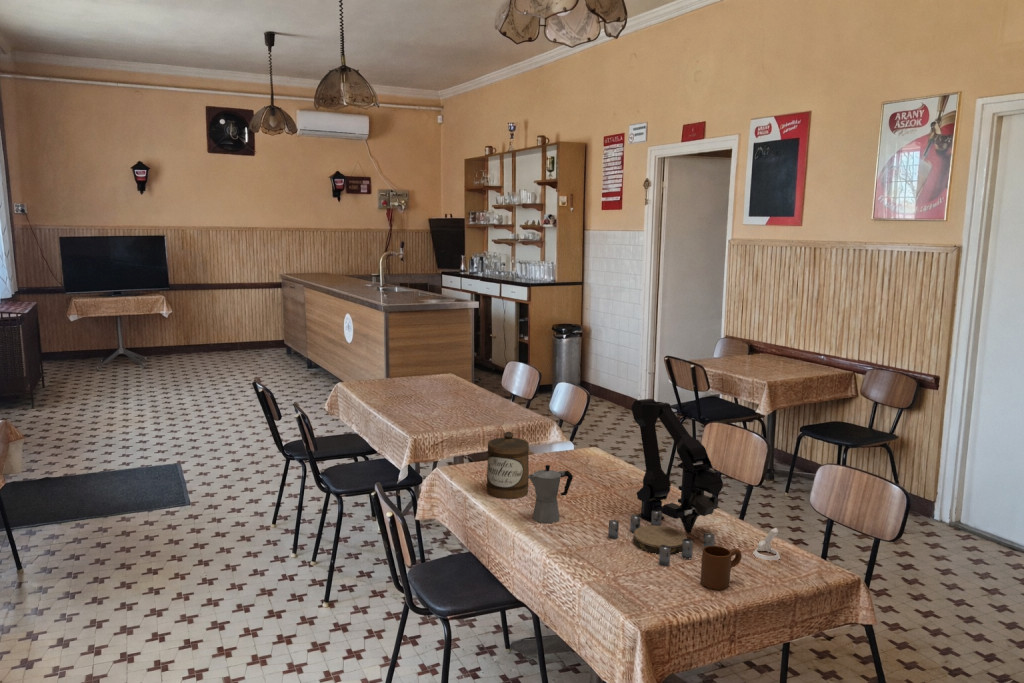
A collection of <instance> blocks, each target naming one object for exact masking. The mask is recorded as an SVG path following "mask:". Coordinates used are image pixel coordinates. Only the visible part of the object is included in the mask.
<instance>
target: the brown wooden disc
mask: <svg viewBox="0 0 1024 683" xmlns="http://www.w3.org/2000/svg"><path fill="white" fill-rule="evenodd" d="M683 539H688V537H687V535H686V534H685V533H684V532H683V531H681V530H679V529H677V528H673V527H669V526H663V525H661V526H654V525H652V526H651V525H645V526H640V527H639V528H638V529H636V530H635V531H634V533H633V542H632V543H633V545H634V544H635V545H636V546H635V545H634V546H635V547H636V548H637V547H638V548H637V549H639V550H641V549H642V550H641V551H642V552H645V551H647V552H646V553H649V552H650V553H649V554H652V553H654V555H658V554H659V551H660V546H661V545H667V546H670V547H671V549H670V554H674V555H677V554H676V553H679V552H682V540H683ZM655 553H656V554H655ZM679 554H680V553H679Z"/></svg>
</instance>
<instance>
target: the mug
mask: <svg viewBox="0 0 1024 683" xmlns="http://www.w3.org/2000/svg"><path fill="white" fill-rule="evenodd" d="M733 556H734V558H733V559H732V557H733ZM742 557H743V556H742V551H741V550H740V549H738V548H731V549H728V548H727V547H723V546H720V545H714V546H706V547H704V548H703V547H702V553H701V562H700V564H701V566H700V583H701V584H702V586H704V587H705V586H706V588H707V587H708V588H707V589H710V590H715V591H722V590H723V591H724V590H725V589H728V587H729V586H730V583H731V571H732V568H734V567H737V566H738V565H739V564H740V562H741V560H742Z"/></svg>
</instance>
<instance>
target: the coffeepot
mask: <svg viewBox="0 0 1024 683" xmlns="http://www.w3.org/2000/svg"><path fill="white" fill-rule="evenodd" d="M544 467H545V469H540V470H536V471H534V472H533V473H532V474H531V473H530V474H529V476H528V478H529V479H530V481H531V482H532V485H533V487H534V491H535V495H536V496H535V502H534V508H533V514H532V520H533V521H534V520H535V522H536V521H537V522H536V523H539V522H540V524H547V523H548V524H554V523H553V522H555V523H557V522H559V521H560V511H559V505H558V504H559V503H558V499H557V498H558V497H557V496H558V494H559V488H560V483H561V478H562V479H563V478H565V477H567V479H566V481H565V482H566V483H565V486H564V489H563V492H560V494H559V495H560V496H562V497H563V496H567V495H568V493H569V490H570V486H571V483H572V480H573V474H572V473H571V472H570V471H569V470H559V471H556V470H554V469H553V470H551V469H550V468H551V465H549V464H546V465H545V466H544ZM556 521H557V522H556Z"/></svg>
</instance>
